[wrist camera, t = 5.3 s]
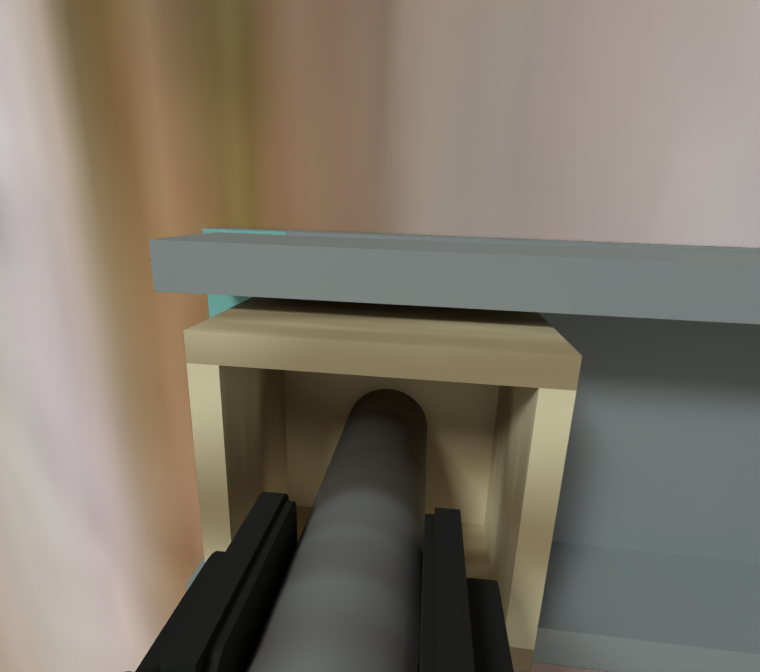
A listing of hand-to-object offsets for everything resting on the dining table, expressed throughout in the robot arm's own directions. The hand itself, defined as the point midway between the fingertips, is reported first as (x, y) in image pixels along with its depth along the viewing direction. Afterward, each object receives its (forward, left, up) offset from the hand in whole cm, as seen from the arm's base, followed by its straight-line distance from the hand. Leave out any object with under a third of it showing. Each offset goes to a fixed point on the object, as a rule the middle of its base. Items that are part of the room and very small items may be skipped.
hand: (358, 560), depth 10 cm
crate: (0, 0, -7) cm, 7 cm away
